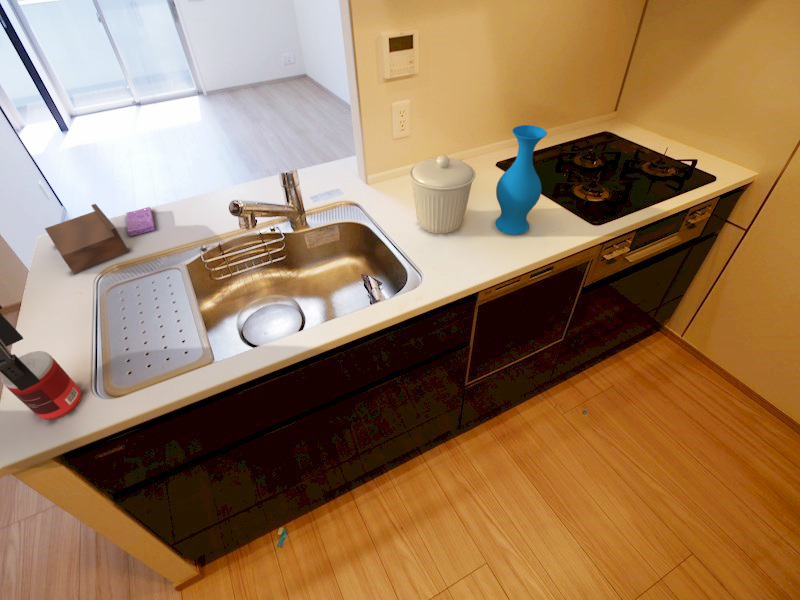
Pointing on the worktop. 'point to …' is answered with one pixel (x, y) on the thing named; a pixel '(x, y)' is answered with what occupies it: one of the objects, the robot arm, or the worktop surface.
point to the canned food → (46, 387)
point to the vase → (519, 183)
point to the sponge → (140, 221)
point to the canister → (441, 192)
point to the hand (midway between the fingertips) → (22, 362)
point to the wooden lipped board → (87, 240)
